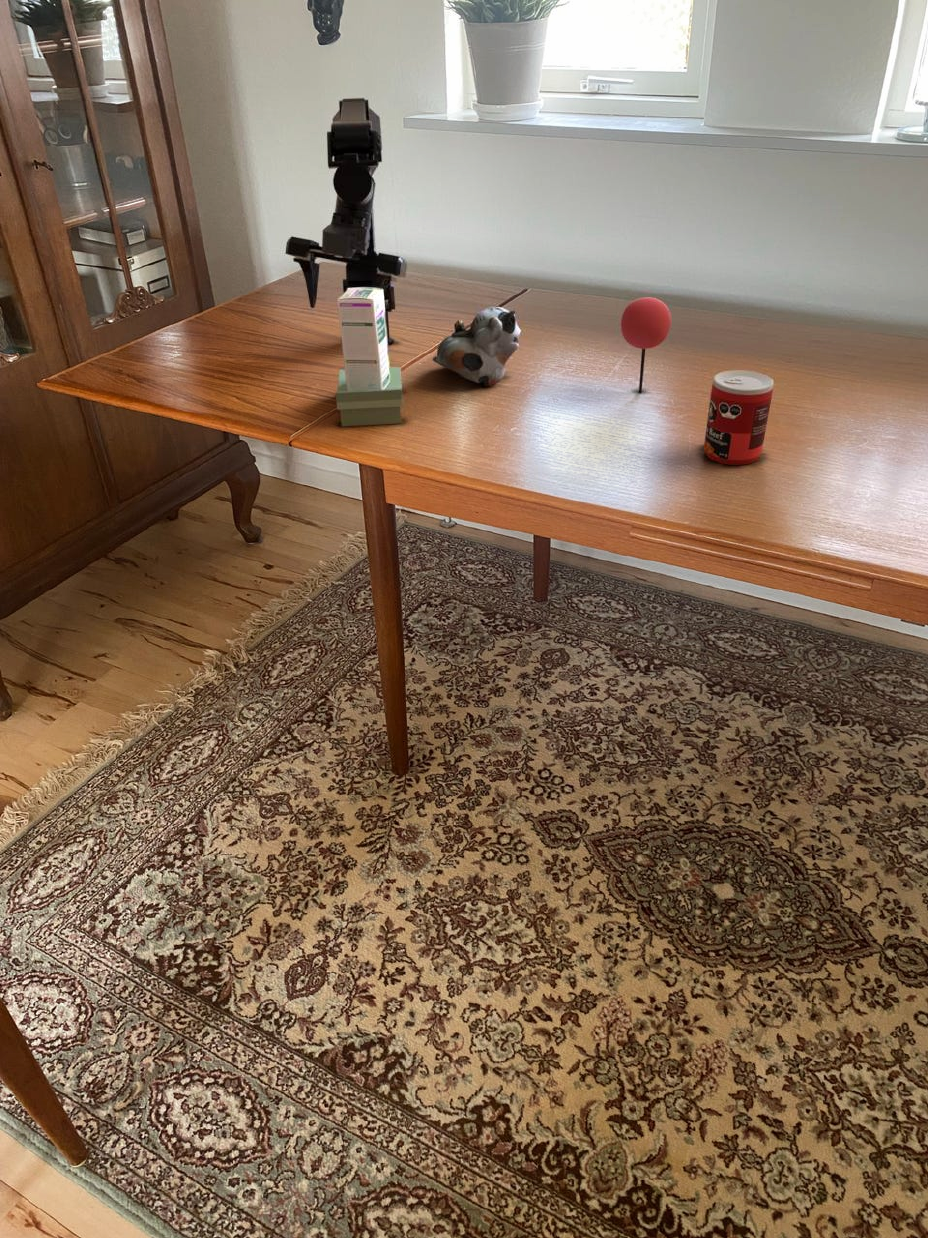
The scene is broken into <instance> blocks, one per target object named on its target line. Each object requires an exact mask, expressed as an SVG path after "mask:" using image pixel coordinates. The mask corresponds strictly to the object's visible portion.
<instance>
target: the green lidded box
mask: <svg viewBox="0 0 928 1238" xmlns="http://www.w3.org/2000/svg"><path fill="white" fill-rule="evenodd" d="M390 372H391V381H390V382H389V384H388V385H387V387H386V388H385V389H379V390H359V391H348V390H347V383H346V374H345V369H339V370H338V378H337V379H338V380H337V381H338V382H337V391H335V400H336V401H335V402H336V410H337V411H339V412H340V413H339V414H340V422H341V427H358V426H359V427H360V426H376V425H377V426H379V425H394V424H395V425H396V424H402V410H401V409H402V408H401V407H404V401H403V399H404V398H403V386H402V384H403V383H402V373H401V366H390Z"/></svg>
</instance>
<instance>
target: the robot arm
mask: <svg viewBox="0 0 928 1238" xmlns="http://www.w3.org/2000/svg"><path fill="white" fill-rule="evenodd" d="M338 109H339V110H338V111H337V112H336V113H335V115H333V117H332V123H331V124H330V131H326V143H327V144H326V147H327V148H326V150H327V152H326V153H327V167H328V169H329V170H330V169H331V170H332V169H335V172H334V174H333V178H332V185H333V189H334V192H335V194H336V201H335V208H334V212H332V216H331V222H330V224H328V225H326V227H324V228H323V229H322V234H321V235H322V237H321V238H322V239H321V245H320V243H319V242H317V241H315V240H312V239H308V238H304V237H303V238H302V237H297V236H290V237H289V238H288V239H287V241H286V245H285V255H288V256H290V257H293V258H292V260H293V262H294V263H297V264H299V267H300V268H301V271H302V274H303V277H304V280H305V286H306V290H307V296H308V302H309V307H310V309H315V307H316V303H317V297H318V285H319V276H320V266H321V265H320V263H317V262H316V260H317V259H323V260H329V261H335V262H340V263H345V278H342V293H343V294H344V293H345V292H346V291H347V289H348V288H357V287H372V288H380V289H383V293H384V305H385V315H386V326H387V338H388V345H392V344H395V339H393V338H392V337H390V324H389V323H390V321H389V313H392V311H393V310H396V298H395V287H394V286H395V285H394V284H393V283H392V282H395V283H396V282H398V278H397V277H399V278H406V276H407V269H408V262H407V260H406V259H405V258H403V257H402V256H399V255H393V254H388V253H383V252H378V253H377V250H376V249H377V248H376V233H375V231H376V230H375V229H376V228H375V214H374V213H375V211H374V198H375V191H376V181H375V179H374V177H373V175H374V174H375V172H376V170H377V169H378V168H379V164H380V163H382V162H383V156H382V151H383V144H382V143H383V142H382V126H381V117H380V115H378V114H377V113H376V112H375V111H374V110H372V109H371V108H370V103H369V99H366V98H365V97H351V98H350V97H349V98H342V100H338Z"/></svg>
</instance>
